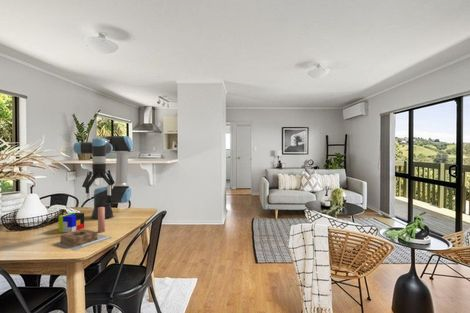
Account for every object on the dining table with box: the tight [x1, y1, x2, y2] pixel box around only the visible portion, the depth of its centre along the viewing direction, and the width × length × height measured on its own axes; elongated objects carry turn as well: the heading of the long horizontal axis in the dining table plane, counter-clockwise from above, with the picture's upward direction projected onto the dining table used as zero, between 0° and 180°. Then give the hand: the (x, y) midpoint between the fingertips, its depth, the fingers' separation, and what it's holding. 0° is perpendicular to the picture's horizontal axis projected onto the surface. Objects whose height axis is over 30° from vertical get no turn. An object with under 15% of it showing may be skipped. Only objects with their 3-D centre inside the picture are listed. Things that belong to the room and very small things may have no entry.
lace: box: [81, 236, 110, 246], centre depth 142 cm, size 16×1×1 cm, turn 153°
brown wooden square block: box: [59, 228, 98, 247], centre depth 142 cm, size 13×13×4 cm
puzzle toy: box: [58, 212, 85, 233], centre depth 166 cm, size 10×10×10 cm
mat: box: [53, 233, 113, 251], centre depth 144 cm, size 22×20×1 cm
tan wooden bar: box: [97, 207, 106, 234], centre depth 160 cm, size 4×4×16 cm
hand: (99, 196), depth 159 cm, fingers open, 13 cm apart
